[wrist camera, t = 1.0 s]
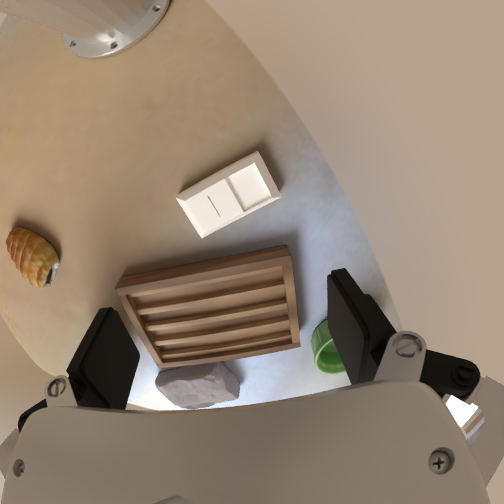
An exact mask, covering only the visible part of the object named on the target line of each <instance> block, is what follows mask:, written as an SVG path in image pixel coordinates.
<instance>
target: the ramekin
mask: <svg viewBox="0 0 504 504" xmlns="http://www.w3.org/2000/svg"><path fill="white" fill-rule="evenodd" d="M311 343H312V349H313V353H314V361H315V366H316V368H317V369H318V370H319V371H320V372H322V373H325V374H340V373H344V372H346V370H345V367H344V365H343V362H342V360H341V358H340V355H339V353H338V351H337V348H336V346H335V344H334V341H333V339H332V337H331V334H330V332H329V329H328V319H327V320H325V321H324V322H322V323H321V324H320V325H319V326H318V327H317V328H316V330H315V331H314V333H313V335H312V339H311Z"/></svg>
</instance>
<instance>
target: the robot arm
mask: <svg viewBox="0 0 504 504" xmlns="http://www.w3.org/2000/svg"><path fill="white" fill-rule="evenodd" d="M169 2H170V0H0V12H2V13H6V14H9V15H13V16H16V17H19V18H23V19H26V20H29V21H32V22H35V23H37V24H40V25H43V26H46V27H48V28H51V29H54V30H56V31H59V32H61V33H62V39H63V42H64V44H65V46H66V47H67V48H68V49H69V51H71V52H72V53H74V54H76V55H78V56H81V57H85V58H91V59H92V58H103V57H108V56H112V55H114V54H117V53H120V52H122V51H124V50H126V49H128V48H130V47H132V46H133V45H134V44H136V43H137V42H139V41H140V40H142V39H143V38H144V37H145V36H146V35H147V34H149V33H150V32H151V31H152V30H153V29H154V27H155V26H156V25H157V24H158V23H159V22H160V20H161V19H162V17H163V16H164V14H165V12H166V10H167V8H168V6H169ZM157 10H159V11H157ZM117 45H118V46H117ZM116 46H117V47H116ZM327 292H328V329H329V332H330V334H331V337H332V339H333V341H334V344H335V346H336V348H337V351H338V353H339V355H340V358H341V360H342V362H343V365H344V367H345V370H346V372H347V374H348V377H349V379H350V382H351V384H352V385H350V386H345V387H341V388H336V389H332V390H328V391H323V392H319V393H314V394H310V395H305V396H299V397H294V398H289V399H283V400H278V401H272V402H265V403H258V404H251V405H243V406H234V407H224V408H213V409H198V410H172V411H145V410H144V411H143V410H125V408H126V404H127V401H128V397H129V394H130V390H131V386H132V383H133V379H134V376H135V373H136V369H137V366H138V363H139V359H140V354H139V351H138V349H137V348H136V346H135V344H134V342H133V340H132V339H131V337H130V335H129V333H128V331H127V329H126V328H125V326H124V324H123V322H122V320H121V318H120V316H119V314H118V312H117V311H116V310H114V309H113V308H112V307H108V308H101V309H100V310H99V311H98V313H97V314H96V316H95V318H94V320H93V321H92V323H91V325H90V327H89V328H88V330H87V332H86V334H85V336H84V337H83V339H82V341H81V343H80V345H79V347H78V349H77V350H76V352H75V354H74V356H73V358H72V360H71V362H70V364H69V366H68V368H67V370H66V371H67V373H68V374H69V377H68V378H67V377H66V376H63V375H59V376H56V377H54V378H53V379H52V380H50V382H48V384H47V386H46V388H45V397H46V398H45V399H44V400H42V401H41V402H39V403H38V404H36V405H34V406H33V407H31V408H30V409H28V410H27V411H25V412H24V413H23V414H22V415H21V416H20V418H19V421H18V429H19V430H17V429H15V430H14V431H13V432H12V433H11V434H10V435H9V436H8V437H7V439H6V440H5V441H4V442H3V443H2V444H1V445H0V470H1V472H2V474H3V476H4V478H5V484H4V488H3V494H2V500H1V504H490V501H489V497H488V494H487V491H486V486H487V485H488V483H489V481H490V480H491V478H492V476H493V474H494V473H495V471H496V469H497V467H498V466H499V464H500V462H501V460H502V458H503V456H504V386H503V385H501V384H500V383H498V382H496V381H495V380H493V379H491V378H489V377H488V376H486V377H485V378H482V377H481V376H480V372H479V369H478V367H477V366H476V365H475V364H474V363H473V362H471V361H468V360H465V359H461V358H457V357H454V356H450V355H445V354H442V353H438V352H434V351H431V350H427V349H426V343H425V340H424V339H423V338H422V337H421V336H420V335H418V334H417V333H414V332H411V331H401V332H398V333H397V332H396V330H395V329H394V328H393V326H392V325H391V323H390V322H389V320H388V319H387V318H386V316H385V315H384V313H383V312H382V310H381V309H380V308H379V306H378V305H377V303H376V302H375V301H374V299H373V298H372V297H371V296H370V295H369V294H365V295H364V293H363V292H362V290H361V289H360V288H359V286H358V285H357V284H356V282H355V281H354V279H353V278H352V277H351V275H350V274H349V273H348V271H347V270H346V269H345V268H342V269H337V270H332V271H331V274H330V275H328V276H327ZM456 420H457V421H456ZM459 425H460V426H461V427H462V428H463V429H464V430H465V431H466V434H467V440H466V439H465V436H464V434H463V433H462V431H461V429H460V427H459Z"/></svg>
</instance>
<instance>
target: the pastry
mask: <svg viewBox="0 0 504 504" xmlns="http://www.w3.org/2000/svg"><path fill="white" fill-rule="evenodd" d="M6 245H7V249H8V252H9V253H10V255H11V259H12V260H13V261H14V262H15V264H16V268H17V269H19V270H20V271H21V273H22V276H23V277H24V278H28V279H29V281H30V284H31V285H34V286H36V285H38V286H39V287H40V288H41V289H43V288H48V287H49V286H50V285H51V281H52V279H54V277H55V273H56V268H58V266H59V259H58V256H57V254H56V251H55V249H54V248H53V246H52V245H51V244H49V243H48V242H47V241H46V240H45V239H44V238H42V237H41V236H39V235H37V234H36V233H33V232H31V231H29V230H27V229H25V228H22V227H17V228H14V229H12V231H10V233H9V235H8V238H7V240H6Z"/></svg>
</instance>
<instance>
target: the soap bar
mask: <svg viewBox="0 0 504 504" xmlns="http://www.w3.org/2000/svg"><path fill="white" fill-rule="evenodd" d="M280 197H281V195H280V193H279V191H278V189H277V187H276V185H275V183H274V181H273V179H272V177H271V175H270V173H269V171H268V169H267V167H266V165H265V163H264V161H263V159H262V157H261V156H260V154H259V152H258V151H256V152H254V153H252V154H250V155H248V156H246V157H244V158H242V159H240V160H238V161H236V162H235V163H233V164H231V165H229V166H227V167H225V168H223V169H221V170H220V171H218V172H216V173H214V174H212V175H211V176H209V177H207V178H205V179H203V180H202V181H200V182H198V183H196V184H195V185H193V186H191V187H190V188H188V189H186V190H184V191H183V192H181V193H179V194H178V195H177V197H176V199H177V201H178V202H179V204H180V205H181V207H182V208H183V210H184V212H185V213H186V215H187V216H188V218H189V219H190V221H191V222H192V224H193V226H194V227H195V229H196V230H197V232H198V233H199V235H200V236H201V238H203V237H205V236H207V235H209V234H211V233H212V232H214V231H216V230H218V229H220V228H222V227H224V226H226V225H228V224H229V223H231V222H233V221H235V220H237V219H239V218H241V217H243V216H245V215H247V214H249V213H251V212H253V211H255V210H257V209H258V208H260V207H262V206H264V205H266V204H268V203H270V202H272V201H274V200H276V199H278V198H280Z"/></svg>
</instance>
